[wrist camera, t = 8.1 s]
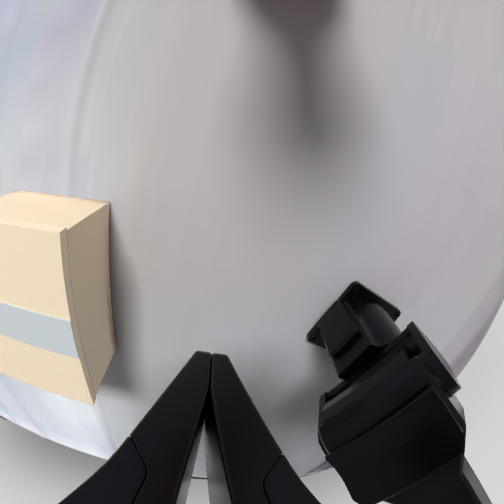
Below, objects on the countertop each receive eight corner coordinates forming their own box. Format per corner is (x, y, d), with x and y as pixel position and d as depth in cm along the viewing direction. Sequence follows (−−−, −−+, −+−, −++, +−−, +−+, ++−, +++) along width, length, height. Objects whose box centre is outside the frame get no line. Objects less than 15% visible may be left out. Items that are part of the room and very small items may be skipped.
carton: (109, 202, 18) (66, 230, 13) (116, 348, 24) (95, 395, 18) (15, 190, 17) (-32, 211, 11) (35, 324, 22) (7, 360, 17)
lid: (66, 227, 13) (58, 233, 12) (96, 397, 18) (93, 405, 17) (-41, 212, 11) (-49, 216, 10) (3, 366, 16) (-1, 373, 15)
